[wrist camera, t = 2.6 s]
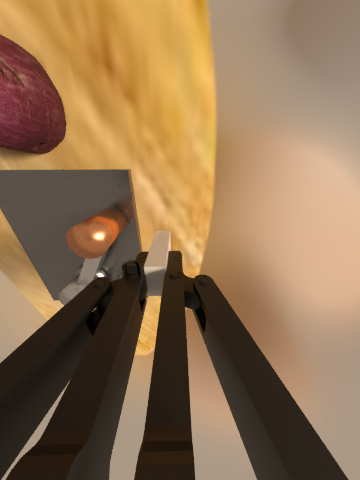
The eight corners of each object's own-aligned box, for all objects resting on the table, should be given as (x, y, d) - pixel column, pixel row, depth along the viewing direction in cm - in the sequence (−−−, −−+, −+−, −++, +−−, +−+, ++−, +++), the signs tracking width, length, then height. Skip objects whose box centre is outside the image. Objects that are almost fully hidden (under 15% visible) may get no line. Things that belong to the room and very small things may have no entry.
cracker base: (-12, 170, 20) (-103, 171, 13) (130, 169, 20) (108, 170, 14) (58, 295, 31) (26, 329, 25) (148, 293, 32) (141, 326, 25)
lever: (95, 305, 29) (73, 342, 23) (68, 297, 28) (38, 333, 22) (133, 218, 21) (116, 239, 15) (98, 200, 20) (63, 215, 14)
